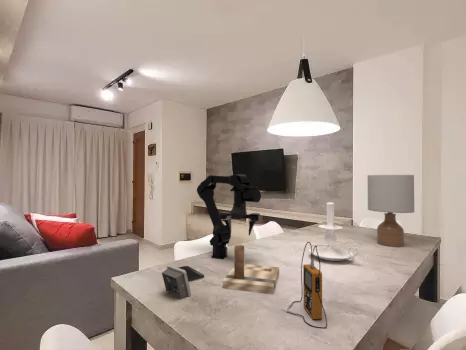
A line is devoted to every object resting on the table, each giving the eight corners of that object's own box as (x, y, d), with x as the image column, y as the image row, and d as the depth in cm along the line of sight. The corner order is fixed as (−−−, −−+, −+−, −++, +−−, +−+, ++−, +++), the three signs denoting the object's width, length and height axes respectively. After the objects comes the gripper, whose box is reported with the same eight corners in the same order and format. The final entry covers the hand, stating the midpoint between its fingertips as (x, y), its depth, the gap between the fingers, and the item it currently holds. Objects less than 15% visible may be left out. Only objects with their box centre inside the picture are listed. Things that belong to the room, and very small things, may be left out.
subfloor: (222, 287, 90) (222, 280, 90) (237, 269, 109) (237, 263, 109) (273, 294, 85) (273, 286, 85) (279, 273, 104) (279, 267, 104)
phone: (187, 265, 111) (205, 275, 100) (186, 268, 111) (205, 278, 100) (170, 269, 106) (187, 280, 95) (170, 272, 106) (187, 283, 95)
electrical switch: (191, 296, 84) (190, 268, 83) (179, 303, 80) (177, 274, 79) (174, 288, 89) (172, 262, 89) (161, 294, 85) (159, 268, 85)
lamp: (361, 243, 154) (361, 175, 155) (376, 237, 170) (375, 175, 171) (408, 252, 136) (407, 174, 137) (419, 244, 152) (418, 175, 153)
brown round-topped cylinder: (232, 284, 93) (232, 246, 93) (238, 281, 95) (238, 244, 96) (240, 287, 90) (240, 248, 91) (246, 284, 93) (246, 246, 93)
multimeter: (276, 302, 79) (276, 238, 80) (307, 301, 80) (307, 238, 81) (291, 330, 65) (291, 251, 65) (329, 328, 65) (328, 251, 66)
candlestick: (344, 271, 107) (343, 205, 108) (300, 256, 128) (299, 201, 129) (371, 263, 118) (370, 203, 119) (326, 250, 139) (326, 199, 140)
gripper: (215, 202, 113) (215, 237, 113) (256, 203, 108) (256, 239, 107) (223, 200, 124) (222, 232, 123) (260, 201, 119) (260, 234, 118)
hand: (239, 234), depth 118 cm, fingers open, 9 cm apart
